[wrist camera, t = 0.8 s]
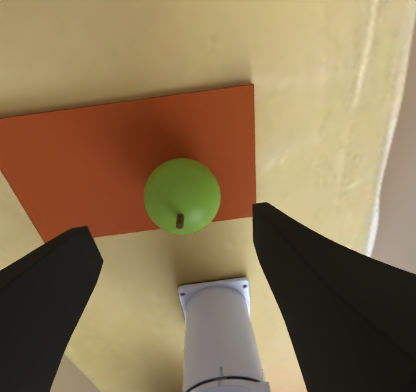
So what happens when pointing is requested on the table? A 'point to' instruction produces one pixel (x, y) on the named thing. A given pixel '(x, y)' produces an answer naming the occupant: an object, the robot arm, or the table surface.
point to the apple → (182, 196)
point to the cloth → (127, 158)
